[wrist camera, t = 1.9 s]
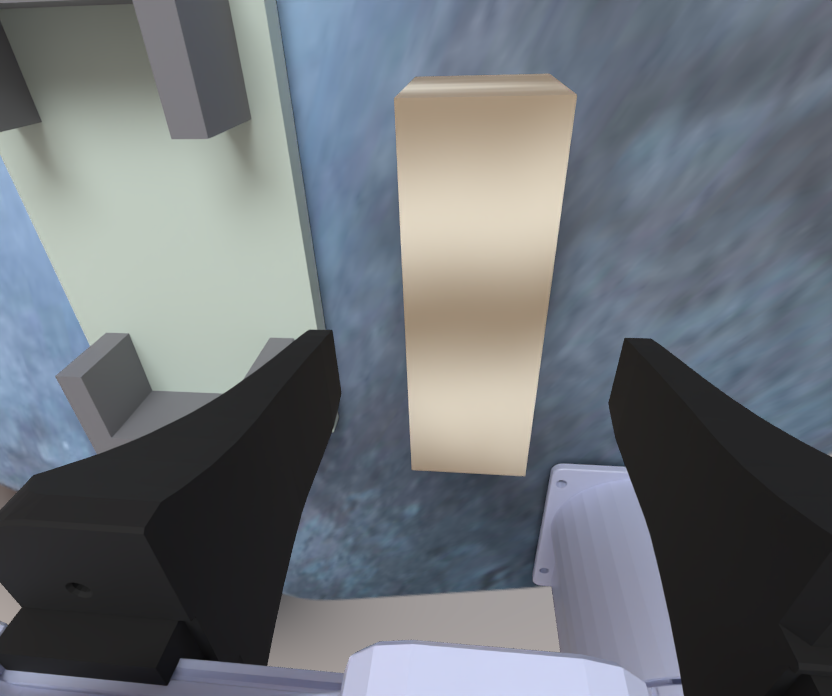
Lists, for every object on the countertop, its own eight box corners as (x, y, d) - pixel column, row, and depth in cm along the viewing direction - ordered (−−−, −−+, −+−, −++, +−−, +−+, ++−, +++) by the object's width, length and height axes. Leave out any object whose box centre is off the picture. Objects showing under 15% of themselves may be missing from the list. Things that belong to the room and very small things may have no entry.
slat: (515, 388, 21) (525, 476, 17) (423, 384, 22) (411, 469, 18) (548, 73, 15) (577, 94, 11) (416, 76, 15) (393, 98, 11)
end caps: (338, 417, 23) (316, 484, 20) (137, 408, 24) (84, 470, 21) (261, -92, 13) (190, -129, 10) (-76, -73, 14) (-243, -101, 11)
